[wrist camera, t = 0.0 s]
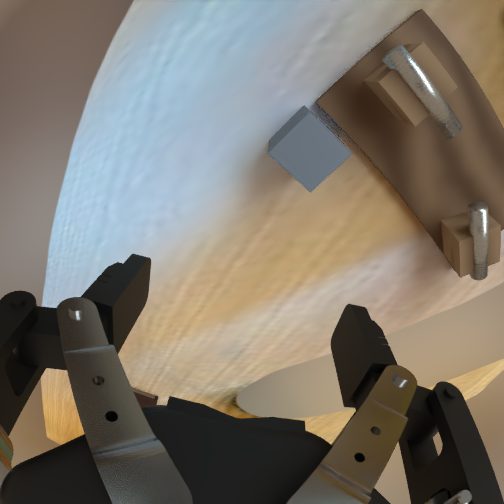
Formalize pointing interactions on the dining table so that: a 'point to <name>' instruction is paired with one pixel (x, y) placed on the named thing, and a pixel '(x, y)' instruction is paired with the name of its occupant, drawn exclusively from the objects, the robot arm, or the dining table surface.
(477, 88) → the base board
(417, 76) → the shaft
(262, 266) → the dining table surface
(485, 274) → the shaft
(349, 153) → the block
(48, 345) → the robot arm
